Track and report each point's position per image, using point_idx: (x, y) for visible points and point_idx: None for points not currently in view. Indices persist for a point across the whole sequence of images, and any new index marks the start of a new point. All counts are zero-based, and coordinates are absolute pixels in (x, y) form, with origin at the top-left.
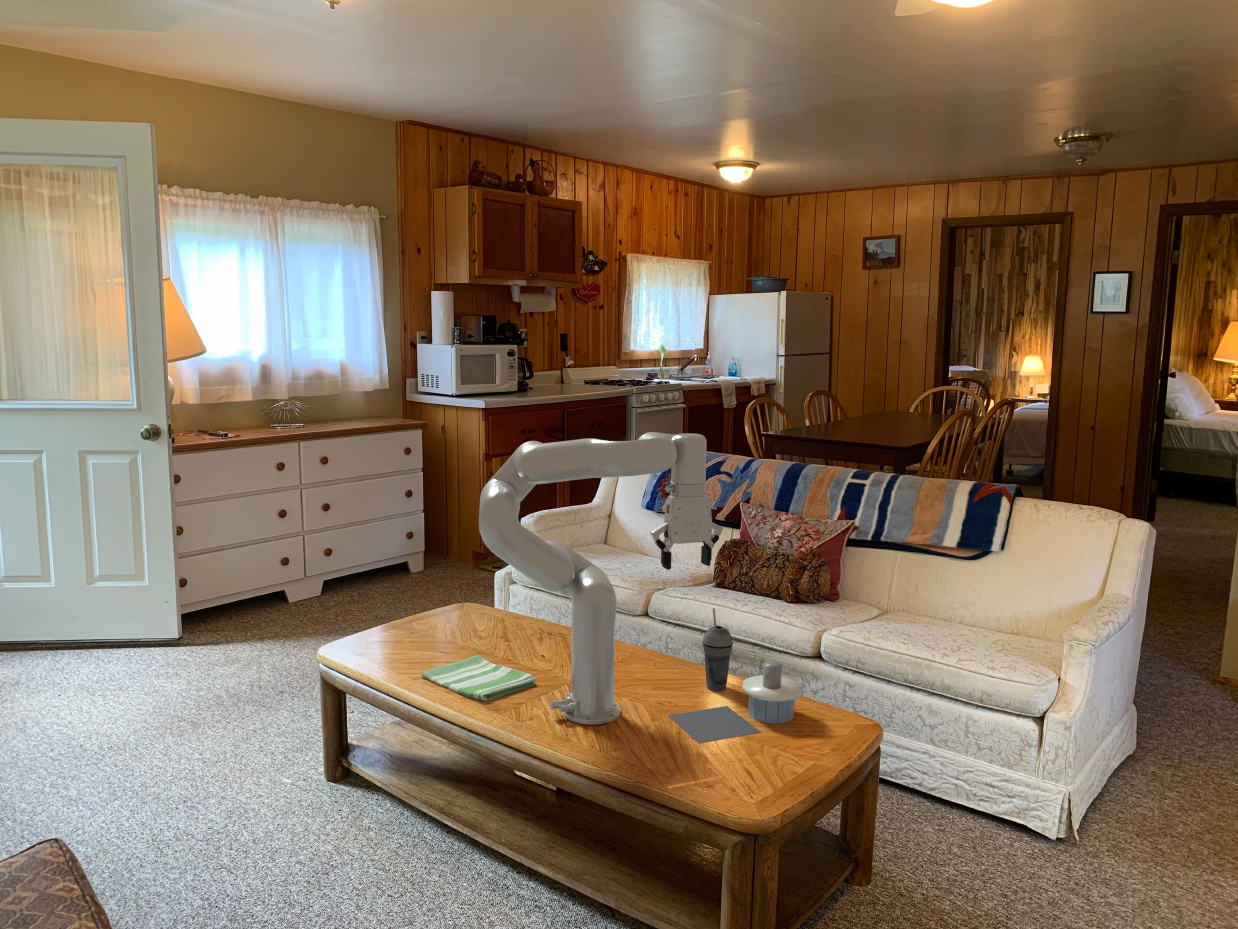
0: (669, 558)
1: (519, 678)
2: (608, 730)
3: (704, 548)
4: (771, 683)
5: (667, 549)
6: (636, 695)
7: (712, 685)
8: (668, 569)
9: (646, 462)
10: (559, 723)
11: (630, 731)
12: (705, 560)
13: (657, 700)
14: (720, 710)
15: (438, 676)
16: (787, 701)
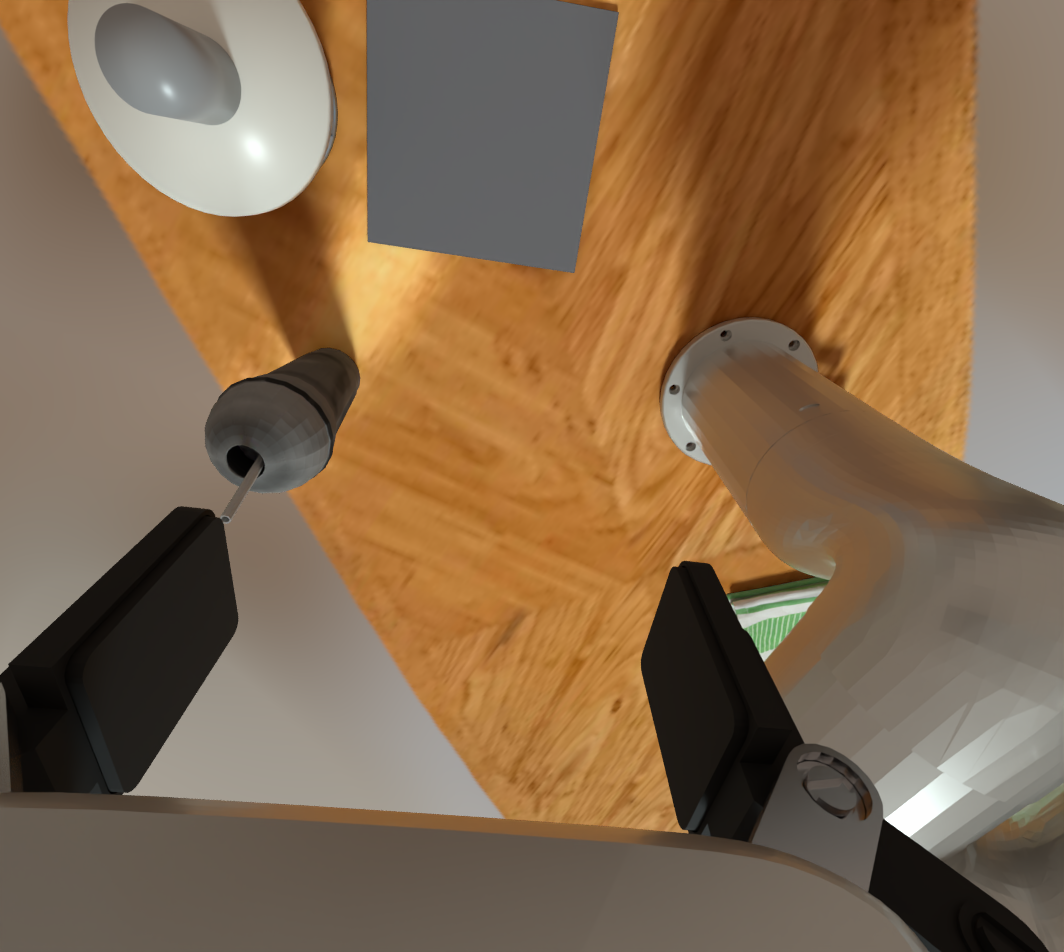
0: (743, 651)
1: (764, 619)
2: (771, 278)
3: (111, 731)
4: (207, 40)
5: (813, 784)
6: (560, 442)
7: (349, 366)
8: (704, 563)
9: None
10: (840, 383)
11: (726, 238)
12: (200, 580)
13: (529, 389)
14: (405, 220)
15: None
16: None
